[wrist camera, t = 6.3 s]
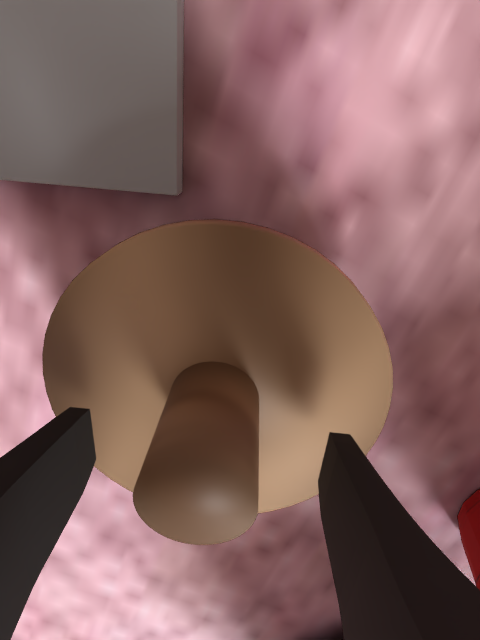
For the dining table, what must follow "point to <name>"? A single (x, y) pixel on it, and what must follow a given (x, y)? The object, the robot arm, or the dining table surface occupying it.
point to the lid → (216, 371)
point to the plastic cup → (471, 533)
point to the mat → (92, 93)
